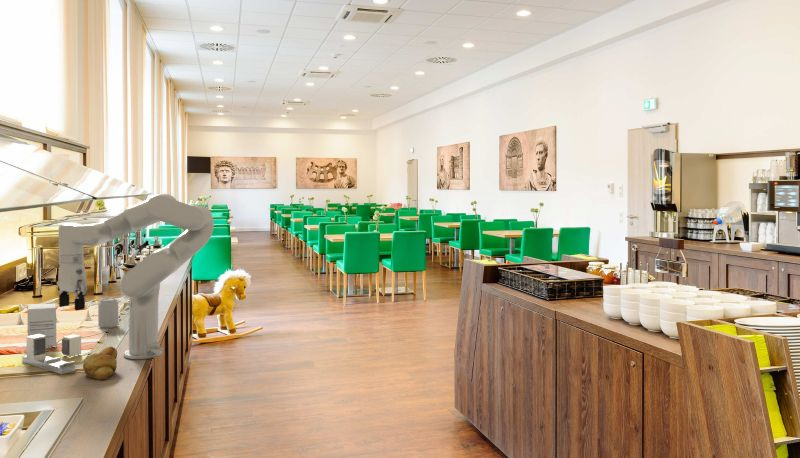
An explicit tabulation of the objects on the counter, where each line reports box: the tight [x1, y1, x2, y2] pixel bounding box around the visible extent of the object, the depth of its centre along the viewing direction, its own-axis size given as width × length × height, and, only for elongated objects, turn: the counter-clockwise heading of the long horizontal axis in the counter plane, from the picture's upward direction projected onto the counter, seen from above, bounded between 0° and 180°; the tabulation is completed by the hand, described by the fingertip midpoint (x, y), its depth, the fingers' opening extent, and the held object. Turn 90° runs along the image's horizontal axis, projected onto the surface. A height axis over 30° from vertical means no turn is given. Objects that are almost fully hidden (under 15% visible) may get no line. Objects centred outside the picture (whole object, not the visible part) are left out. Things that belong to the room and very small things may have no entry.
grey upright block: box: [97, 297, 119, 330], centre depth 244 cm, size 8×8×12 cm
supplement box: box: [26, 302, 57, 349], centre depth 214 cm, size 9×9×15 cm
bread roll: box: [82, 346, 118, 380], centre depth 184 cm, size 13×10×8 cm
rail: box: [22, 334, 76, 375], centre depth 191 cm, size 22×4×9 cm, turn 61°
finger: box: [61, 333, 82, 357], centre depth 203 cm, size 5×4×7 cm
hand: (72, 307), depth 203 cm, fingers open, 9 cm apart
